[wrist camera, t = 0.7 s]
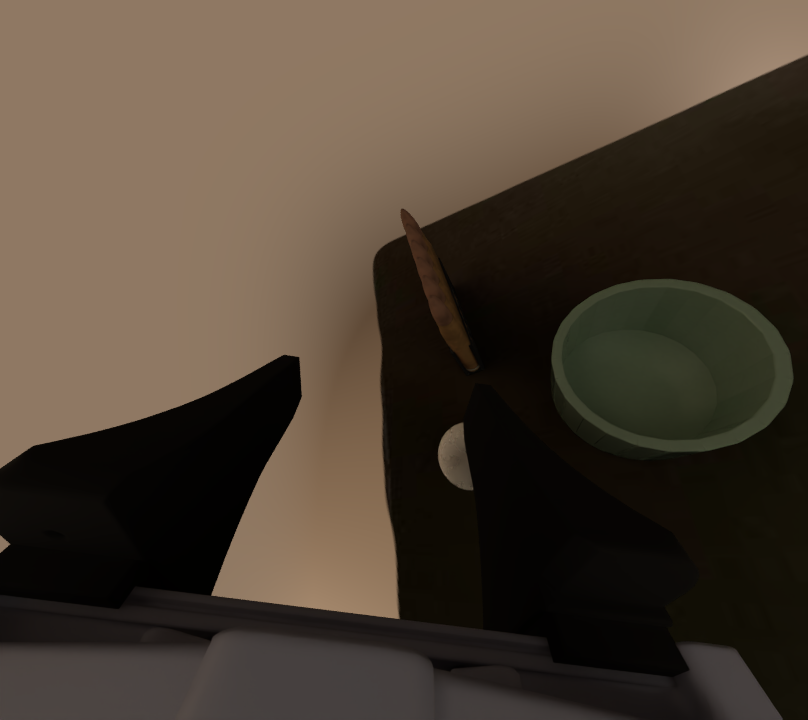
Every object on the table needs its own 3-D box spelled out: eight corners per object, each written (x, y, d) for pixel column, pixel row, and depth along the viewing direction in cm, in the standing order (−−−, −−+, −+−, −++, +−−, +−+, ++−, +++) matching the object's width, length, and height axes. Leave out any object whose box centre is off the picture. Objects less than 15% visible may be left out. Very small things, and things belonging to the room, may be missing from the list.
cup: (768, 433, 18) (865, 410, 12) (591, 478, 21) (607, 476, 15) (660, 306, 23) (695, 250, 17) (529, 356, 26) (525, 322, 20)
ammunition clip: (485, 369, 27) (448, 301, 17) (466, 376, 28) (420, 314, 18) (452, 285, 32) (409, 195, 22) (437, 292, 33) (388, 208, 23)
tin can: (522, 481, 22) (516, 480, 17) (469, 495, 24) (448, 499, 19) (501, 426, 25) (489, 412, 20) (453, 442, 26) (430, 432, 21)
